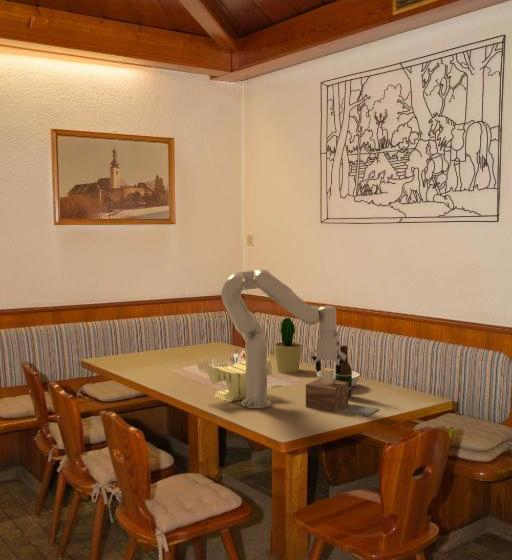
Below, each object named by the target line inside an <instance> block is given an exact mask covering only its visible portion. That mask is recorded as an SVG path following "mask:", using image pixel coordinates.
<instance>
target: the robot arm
mask: <svg viewBox="0 0 512 560" xmlns="http://www.w3.org/2000/svg"><path fill="white" fill-rule="evenodd" d="M256 289H258V290H259V291H261V293H263V294H264V295H266V296H267V297H269V298H270V299H271V300H273V301H274V302H276V303H277V304H279V305H280V306H281V307H282V308H284V309H285V310H286V311H288V312H289V313H290V314H292V315H293V316H294V317H295V318H297V319H298V320H300V321H301V322H303V323H304V324H305V325H307V326H313V325H316V324H317V323H318V330H319V331H318V334H319V336H317V342H316V349H314V350H311V351H310V352H309V354H310V356H311V359H312V360H313V362H314V363H315V370H316V373H317V372H319V371H321V370H322V363H321V361H322V360H324V361H325V360H326V361H334V363H336V365H335V369H336V374H339V373H341V364H342V363H343V362H344V361H345V359H346V357H347V355H345V354H344V353H342V352H341V351H340V346H341V345H340V339H339V337H338V336H339V335H340V332H338V330H337V309H336V307H335V306H333V305H323V306H321V305H319V306H318V305H310V304H308V303H307V302H306V301H304V300H303V299H302V298H300V297H299V296H298V295H297V294H296V293H295V291H294V290H292V288H290V287H289V286H288V285H286V284H285V283H283V282H282V281H281V280H279V279H278V278H276V276H274V275H273V274H272V273H271V272H270V271H269V270H267V269H254V270H247V271H246V270H244V271H237V272H233V273H232V274H231V275H230V276H228V278H227V279H226V281H225V282H224V284H223V286H222V289H221V300H222V303H223V305H224V307H225V310H226V311H227V313H228V316H229V318H230V320H231V321H232V324H233V325H234V328H235V330H236V331H237V332H238V333H239V334H241V336H242V338H243V340H244V342H245V345H244V346H245V347H244V353H245V359H246V396H245V399H244V400H240V404H241V406H243V407H244V408H247V409H265V408H268V407H270V406H271V405H272V403H271V401H270V400H269V399H268V375H267V358H268V339H267V336H266V334H265V332H264V330H263V328H262V326H261V324H260V322H259V320H258V318H257V317H256V315H254V313H253V312H251V311H250V310H249V309H248V307H247V305H246V303H245V301H244V300H243V297H242V292H243V291H246V290H256ZM341 356H342V359H341V360H340V357H341ZM245 359H244V360H245Z"/></svg>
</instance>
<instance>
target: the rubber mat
mask: <svg viewBox="0 0 512 560" xmlns="http://www.w3.org/2000/svg"><path fill="white" fill-rule="evenodd" d="M377 410H378V411H379V410H380V408H378V407H377V408H376V407H371V406H366V405H365V406H364V405H361V404H360V405H359V404H351V405H349V406H348V407H346V408H345V409H343V410H341V413H345V414H350V413H351V414H350V415H355V414H358V415H357V416H361V415H365V416H364V417H367V416H368V417H370V416H371V415H372V413H373V414H374V413H376V412H378V411H377ZM370 414H371V415H370ZM369 415H370V416H369Z"/></svg>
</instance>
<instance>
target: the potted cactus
mask: <svg viewBox="0 0 512 560" xmlns="http://www.w3.org/2000/svg"><path fill="white" fill-rule="evenodd" d="M293 321H294V320H292V319H291V317H285V318H283V319H282V320H281V319H280V325H279V326H280V327H279V331H280V332H279V333H280V336H281V337H280V340H281V341H279V342H275V343H274V344H273V346H274V353H275V361H276V368H277V372H278V373H281V374H296V373H298V372H299V370H300V362H301V356H302V349H303V343H301V342H298V341H297V342H296V341H294V336H295V333H296V332H297V330H296V329H297V327H296V326H295V323H294V322H293Z"/></svg>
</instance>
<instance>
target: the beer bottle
mask: <svg viewBox="0 0 512 560" xmlns="http://www.w3.org/2000/svg"><path fill="white" fill-rule="evenodd" d="M348 349H349V347H348V345H345V344H344V345H340V351H341V352H342V353H344V354H345V355H347V357H346V359H345V361H344V362H343V363H342V364H341V373H339V374H336V373H335V380H337V381H344V382H348V399H351V397H352V390H353V386H352V371H353V370H352V366H351V365H350V363H349V356H348V354H349V353H348ZM339 359H340V360H341V359H342V356H341V357H340V358H339Z"/></svg>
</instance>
